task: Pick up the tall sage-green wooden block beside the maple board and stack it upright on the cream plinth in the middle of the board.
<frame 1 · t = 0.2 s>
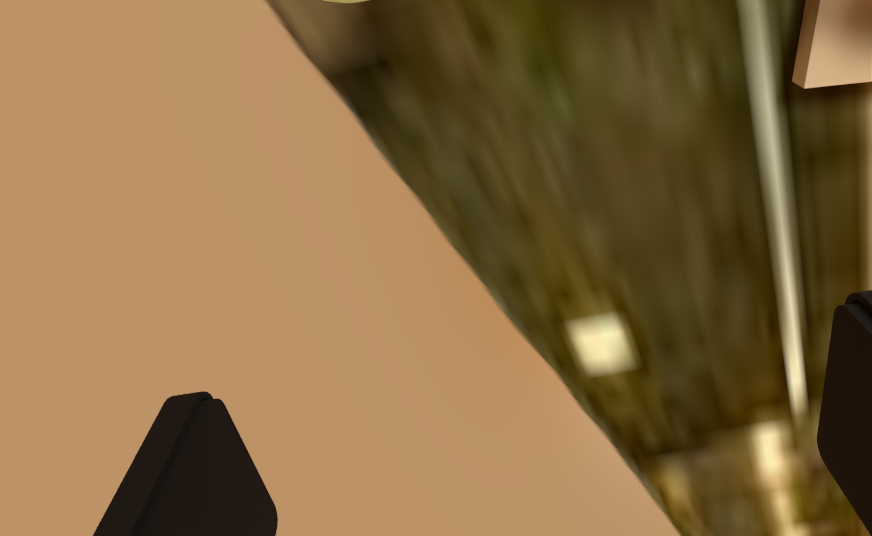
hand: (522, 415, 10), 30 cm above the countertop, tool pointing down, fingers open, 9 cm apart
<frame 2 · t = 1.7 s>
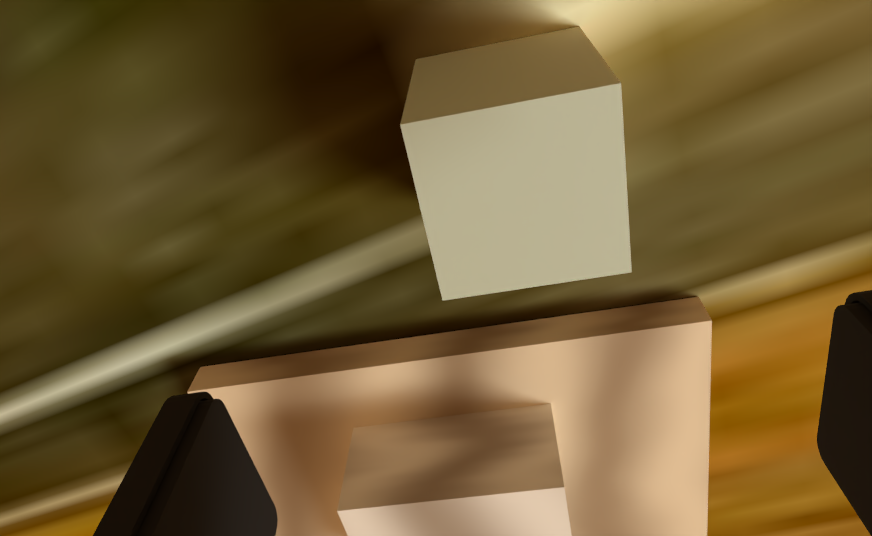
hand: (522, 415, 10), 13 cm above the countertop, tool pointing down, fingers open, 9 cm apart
sage block: (507, 121, 21), on the countertop
stack base: (467, 455, 29), on the countertop
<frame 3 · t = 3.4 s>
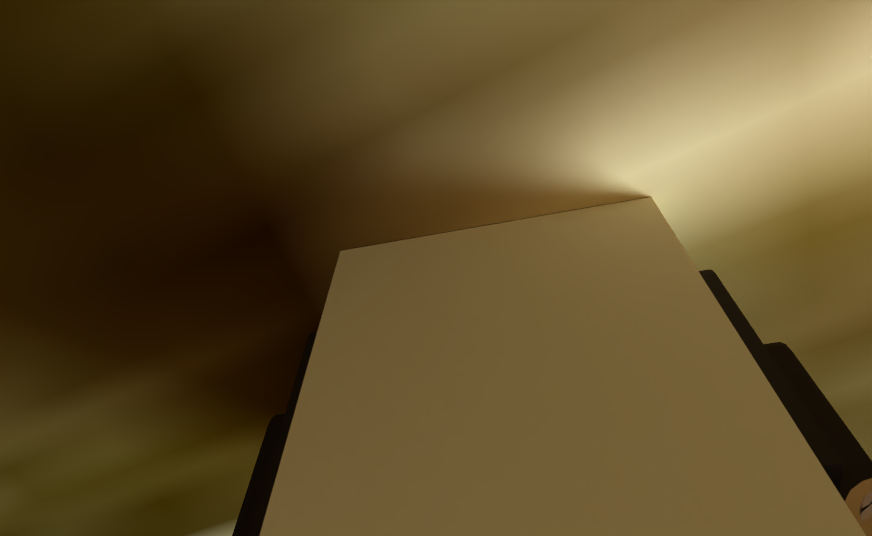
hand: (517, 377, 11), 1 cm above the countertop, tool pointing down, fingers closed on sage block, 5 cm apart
sage block: (513, 346, 12), on the countertop, touching gripper
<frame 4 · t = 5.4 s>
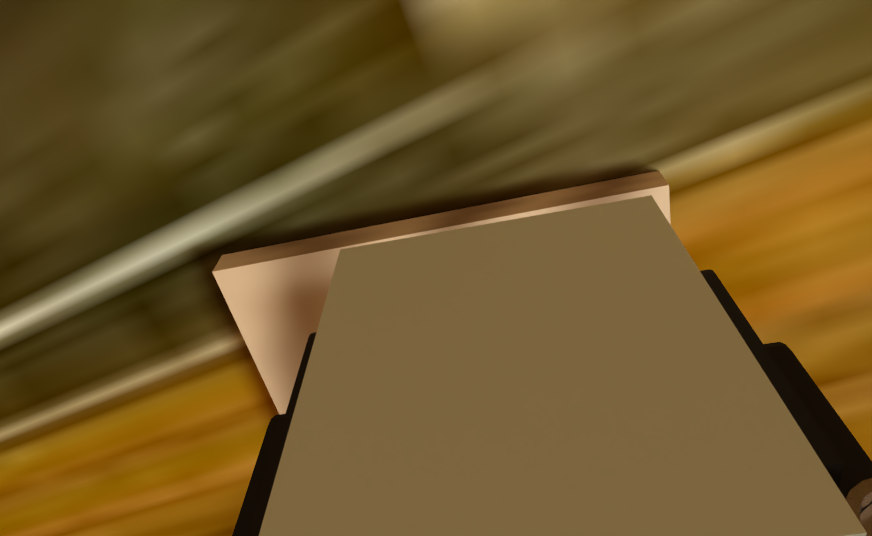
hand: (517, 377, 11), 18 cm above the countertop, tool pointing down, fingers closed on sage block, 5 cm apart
sage block: (513, 345, 12), point 17 cm above the countertop, touching gripper
stack base: (461, 337, 32), on the countertop
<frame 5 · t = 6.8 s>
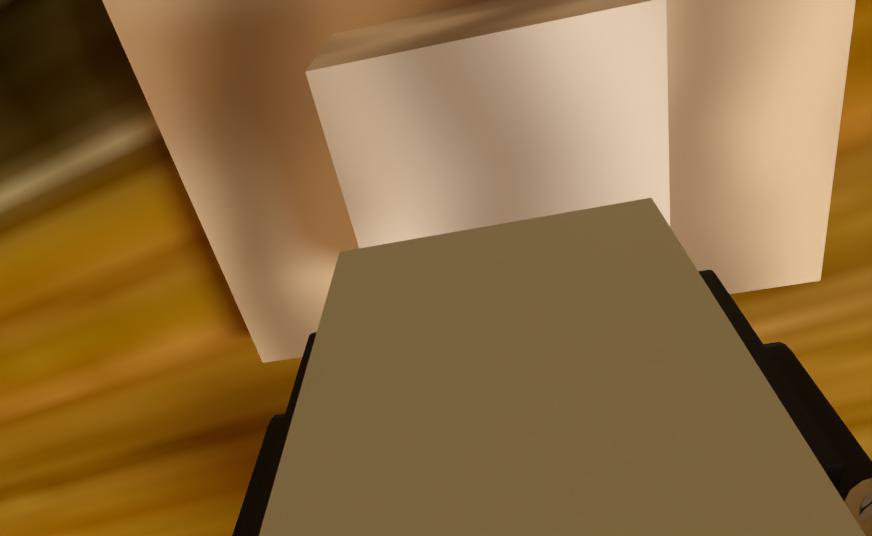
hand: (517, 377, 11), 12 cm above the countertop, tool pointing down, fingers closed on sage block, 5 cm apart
sage block: (513, 347, 12), point 11 cm above the countertop, touching gripper
stack base: (494, 124, 21), on the countertop
when the fingers open (8 cm above the countertop, at t = 7.8 s): sage block drops 1 cm, resting on stack base.
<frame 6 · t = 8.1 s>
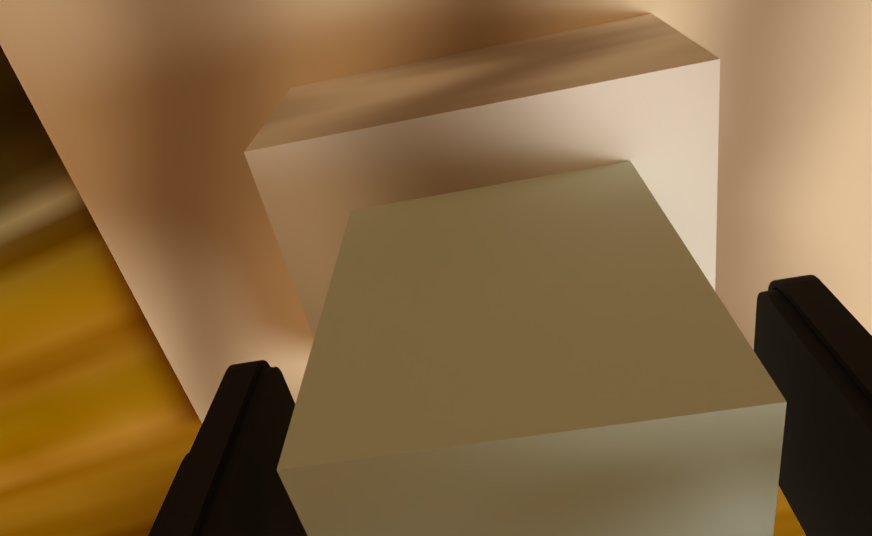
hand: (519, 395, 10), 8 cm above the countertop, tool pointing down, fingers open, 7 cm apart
sage block: (507, 301, 13), point 5 cm above the countertop, touching stack base
stack base: (490, 188, 17), on the countertop
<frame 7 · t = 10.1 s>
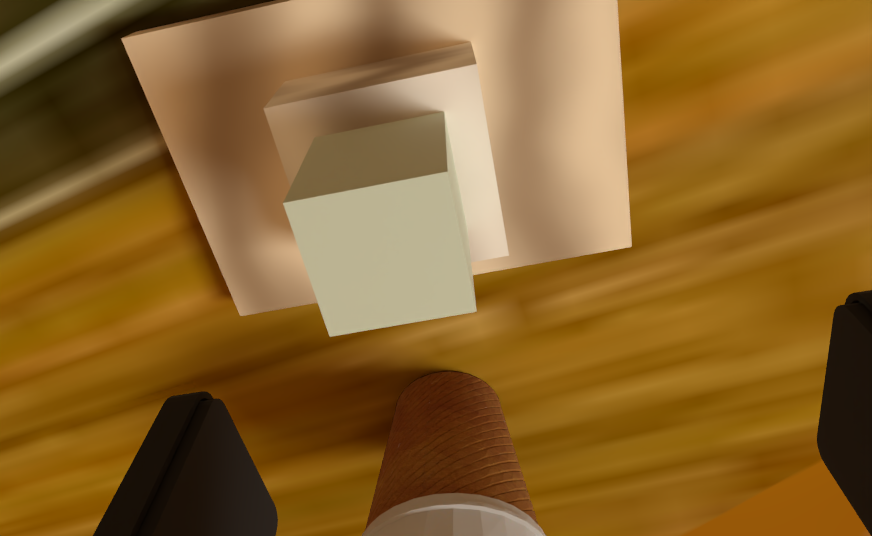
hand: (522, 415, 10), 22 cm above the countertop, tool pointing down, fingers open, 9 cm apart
sage block: (394, 185, 25), point 5 cm above the countertop, touching stack base
disposable coffee cup: (448, 409, 39), on the countertop
stack base: (399, 140, 30), on the countertop
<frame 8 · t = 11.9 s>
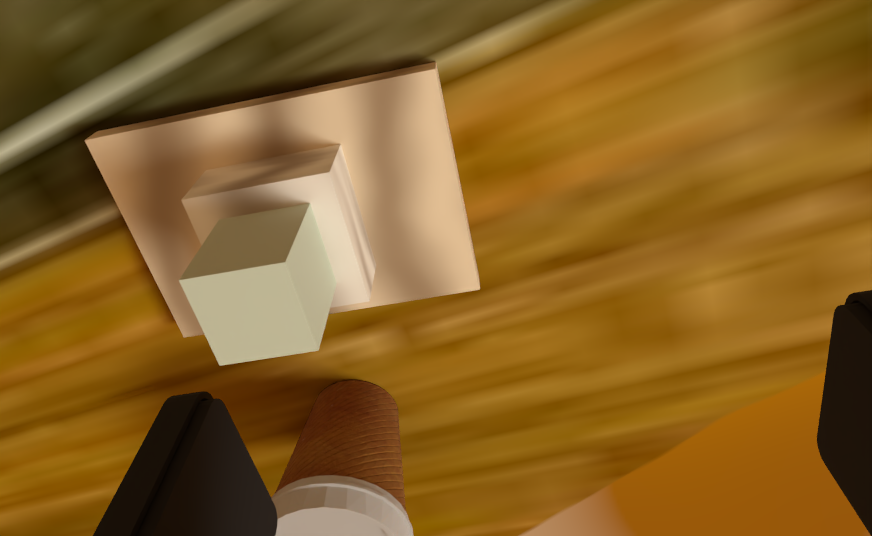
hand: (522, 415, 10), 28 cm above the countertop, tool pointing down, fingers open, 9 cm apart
sage block: (279, 252, 35), point 5 cm above the countertop, touching stack base
disposable coffee cup: (356, 409, 49), on the countertop
stack base: (299, 208, 40), on the countertop
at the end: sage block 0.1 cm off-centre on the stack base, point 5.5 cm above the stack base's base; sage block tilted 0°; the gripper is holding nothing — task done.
